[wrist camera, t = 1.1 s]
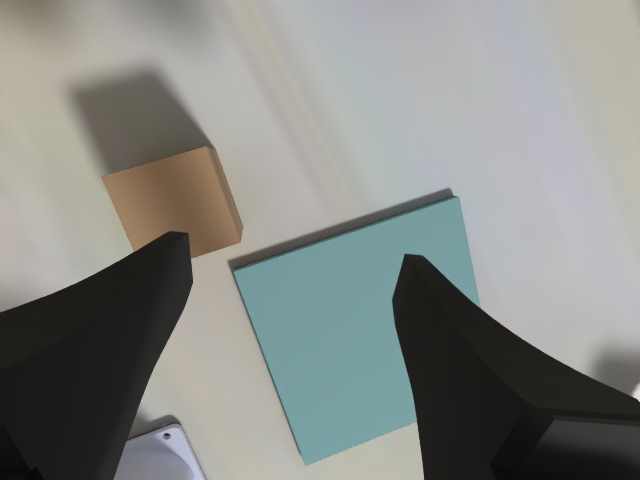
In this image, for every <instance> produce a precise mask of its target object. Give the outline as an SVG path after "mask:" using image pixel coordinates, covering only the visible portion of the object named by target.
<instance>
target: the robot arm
mask: <svg viewBox="0 0 640 480" xmlns="http://www.w3.org/2000/svg"><path fill="white" fill-rule="evenodd" d="M192 284H193V276H192V265H191V254H190V243H189V233H187V232H176V231H169V232H167V233H165V234H163V235H161V236H160V237H158V238H156V239H155V240H153V241H151V242H150V243H148V244H146V245H145V246H143V247H142V248H140V249H138V250H137V251H135V252H133V253H132V254H130V255H128V256H127V257H125V258H123V259H121V260H120V261H118V262H116V263H114V264H112V265H111V266H109V267H107V268H105V269H103V270H101V271H99V272H98V273H96V274H94V275H92V276H90V277H88V278H86V279H84V280H82V281H80V282H78V283H76V284H73V285H71V286H69V287H66V288H64V289H62V290H60V291H57V292H55V293H53V294H50V295H47V296H45V297H42V298H39V299H37V300H34V301H31V302H29V303H26V304H23V305H20V306H18V307H15V308H12V309H9V310H6V311H3V312H0V480H206V478H205V476H204V474H203V472H202V470H201V467H200V465H199V463H198V461H197V459H196V457H195V454H194V452H193V450H192V448H191V446H190V444H189V442H188V439H187V437H186V435H185V433H184V431H183V429H182V427H181V426H180V425H179V424H172V425H169V426H166V427H164V428H161V429H158V430H155V431H153V432H150V433H147V434H145V435H142V436H139V437H137V438H134V439H131V440H129V441H127V438H128V435H129V432H130V429H131V427H132V424H133V421H134V418H135V415H136V413H137V410H138V407H139V404H140V402H141V399H142V396H143V394H144V391H145V389H146V386H147V383H148V381H149V378H150V376H151V374H152V371H153V369H154V367H155V365H156V363H157V361H158V359H159V357H160V355H161V353H162V351H163V349H164V347H165V345H166V343H167V341H168V339H169V337H170V335H171V334H172V332H173V330H174V328H175V326H176V324H177V322H178V320H179V318H180V316H181V314H182V312H183V310H184V307H185V305H186V302H187V299H188V296H189V293H190V290H191V287H192ZM392 306H393V315H394V322H395V328H396V332H397V336H398V340H399V344H400V347H401V351H402V355H403V358H404V362H405V366H406V370H407V373H408V377H409V381H410V385H411V389H412V394H413V399H414V405H415V412H416V418H417V424H418V432H419V439H420V446H421V454H422V462H423V471H424V480H640V402H639V401H638V400H637V399H636V398H633V397H631V396H629V395H627V394H625V393H622V392H620V391H618V390H616V389H614V388H612V387H609V386H607V385H605V384H603V383H601V382H598V381H596V380H594V379H592V378H590V377H588V376H586V375H584V374H582V373H580V372H578V371H576V370H575V369H573V368H571V367H569V366H567V365H565V364H563V363H561V362H560V361H558V360H556V359H554V358H552V357H551V356H549V355H547V354H545V353H544V352H542V351H541V350H539V349H537V348H536V347H534V346H532V345H531V344H529V343H528V342H526V341H524V340H523V339H521V338H520V337H518V336H517V335H515V334H514V333H512V332H511V331H510V330H508V329H507V328H505V327H504V326H503V325H501V324H500V323H499V322H497V321H496V320H494V319H493V318H492V317H491V316H489V315H488V314H487V313H485V312H484V311H483V310H482V309H481V308H479V307H478V306H477V305H476V304H475V303H473V302H472V301H471V300H470V299H469V298H468V297H467V296H465V295H464V294H463V293H462V292H461V291H460V290H459V289H458V288H457V287H456V286H455V285H454V284H452V283H451V282H450V281H449V280H448V279H447V278H446V277H445V276H444V275H443V274H442V273H441V272H440V271H439V270H438V269H437V268H436V267H435V266H434V265H433V264H432V263H431V262H430V261H429V260H428V259H426V258H425V257H424V256H423V255H416V254H405V255H404V258H403V262H402V265H401V269H400V272H399V276H398V280H397V283H396V287H395V290H394V294H393V298H392ZM165 433H169V434H170V435H169V436H167V435H165Z"/></svg>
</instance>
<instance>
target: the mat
mask: <svg viewBox="0 0 640 480" xmlns="http://www.w3.org/2000/svg"><path fill="white" fill-rule="evenodd" d="M405 254H416V255H423V256H424V257H425V258H426V259H428V260H429V261H430V262H431V263H432V264H433V265H434V266H435V267H436V268H437V269H438V270H439V271H440V272H441V273H442V274H443V275H444V276H445V277H446V278H447V279H448V280H449V281H450V282H451V283H452V284H454V285H455V286H456V287H457V288H458V289H459V290H460V291H461V292H462V293H463V294H464V295H465V296H467V297H468V298H469V299H470V300H471V301H472V302H473V303H475V304H476V305H477V306H478V307H479V308H481V307H480V302H479V297H478V292H477V287H476V282H475V277H474V271H473V266H472V261H471V256H470V251H469V246H468V241H467V236H466V230H465V225H464V220H463V215H462V210H461V205H460V200H459V197H457V196H453V197H450V198H447V199H444V200H441V201H438V202H435V203H432V204H429V205H426V206H423V207H420V208H417V209H414V210H411V211H408V212H405V213H402V214H399V215H396V216H393V217H390V218H387V219H384V220H381V221H378V222H375V223H372V224H369V225H366V226H363V227H360V228H357V229H354V230H351V231H348V232H345V233H342V234H339V235H336V236H333V237H330V238H327V239H324V240H321V241H318V242H315V243H312V244H309V245H306V246H303V247H300V248H296V249H293V250H290V251H287V252H284V253H281V254H278V255H275V256H272V257H269V258H266V259H263V260H260V261H257V262H254V263H251V264H248V265H245V266H242V267H239V268H236V269H234V270H233V273H234V276H235V278H236V281H237V284H238V286H239V289H240V292H241V294H242V297H243V300H244V302H245V305H246V308H247V310H248V313H249V316H250V318H251V321H252V324H253V326H254V329H255V332H256V334H257V337H258V340H259V342H260V345H261V348H262V351H263V353H264V356H265V359H266V361H267V364H268V367H269V369H270V372H271V375H272V377H273V380H274V383H275V385H276V388H277V391H278V393H279V396H280V399H281V401H282V404H283V407H284V409H285V412H286V415H287V417H288V420H289V423H290V425H291V428H292V431H293V434H294V436H295V439H296V442H297V444H298V447H299V450H300V452H301V455H302V458H303V460H304V463H305V466H307V465H309V464H312V463H314V462H317V461H319V460H322V459H324V458H327V457H329V456H332V455H334V454H337V453H339V452H342V451H344V450H347V449H349V448H352V447H354V446H357V445H359V444H362V443H364V442H367V441H369V440H372V439H374V438H377V437H379V436H382V435H384V434H387V433H389V432H392V431H394V430H397V429H399V428H402V427H404V426H407V425H409V424H412V423H414V422H417V418H416V412H415V405H414V399H413V394H412V389H411V385H410V381H409V377H408V373H407V370H406V366H405V362H404V358H403V355H402V351H401V347H400V344H399V340H398V336H397V332H396V328H395V322H394V315H393V306H392V298H393V294H394V290H395V287H396V283H397V280H398V276H399V272H400V269H401V265H402V262H403V258H404V255H405Z"/></svg>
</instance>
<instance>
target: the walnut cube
mask: <svg viewBox="0 0 640 480" xmlns="http://www.w3.org/2000/svg"><path fill="white" fill-rule="evenodd" d="M102 180H103V182H104V184H105V186H106V189H107V191H108V193H109V195H110V198H111V200H112V202H113V205H114V207H115V209H116V211H117V214H118V216H119V218H120V220H121V223H122V225H123V227H124V230H125V232H126V234H127V236H128V239H129V241H130V243H131V245H132V248H133V250H134V252H135V251H137V250H138V249H140V248H142V247H143V246H145V245H146V244H148V243H150V242H151V241H153V240H155V239H156V238H158V237H160V236H161V235H163V234H165V233H167V232H169V231H176V232H187V233H189V243H190V254H191V258H194V257H197V256H200V255H203V254H206V253H209V252H212V251H216V250H219V249H222V248H225V247H228V246H231V245H234V244H237V243H240V242H241V237H242V230H243V225H242V222H241V219H240V216H239V213H238V211H237V208H236V205H235V202H234V199H233V196H232V194H231V191H230V188H229V185H228V182H227V179H226V177H225V174H224V171H223V168H222V165H221V163H220V160H219V157H218V154H217V151H216V150H215V149H212V148H210V147H207V146H205V147H201V148H198V149H194V150H191V151H188V152H184V153H181V154H177V155H174V156H171V157H167V158H164V159H160V160H157V161H153V162H150V163H147V164H143V165H140V166H136V167H133V168H129V169H126V170H123V171H119V172H116V173H112V174H109V175H106V176H102Z"/></svg>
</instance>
